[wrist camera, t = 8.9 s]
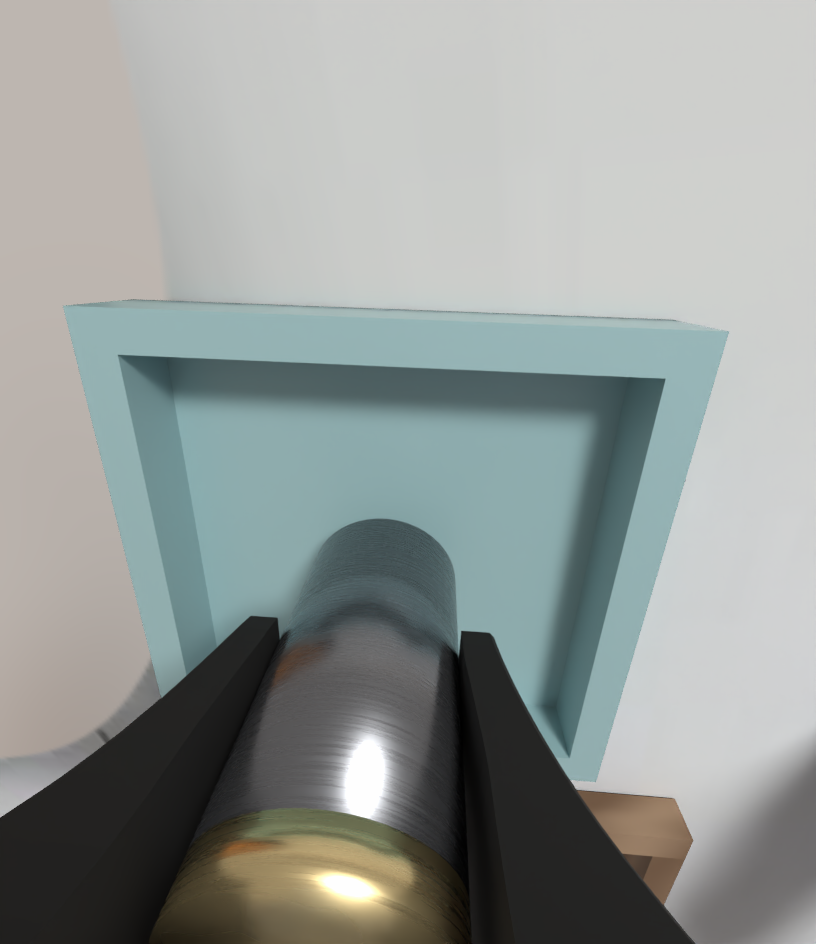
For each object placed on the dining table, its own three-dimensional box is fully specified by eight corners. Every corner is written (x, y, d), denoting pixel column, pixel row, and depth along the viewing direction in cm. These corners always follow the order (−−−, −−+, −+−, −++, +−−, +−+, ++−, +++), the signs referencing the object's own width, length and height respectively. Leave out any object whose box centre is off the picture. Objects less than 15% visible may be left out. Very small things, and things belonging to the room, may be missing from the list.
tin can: (471, 535, 12) (515, 928, 5) (437, 647, 14) (434, 1071, 7) (322, 504, 12) (141, 858, 5) (306, 621, 14) (152, 1019, 6)
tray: (672, 319, 12) (729, 331, 9) (575, 714, 17) (596, 781, 15) (133, 299, 12) (62, 305, 10) (207, 685, 18) (173, 745, 16)
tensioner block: (674, 798, 19) (740, 947, 15) (624, 922, 22) (665, 1068, 18) (210, 758, 20) (149, 888, 16) (236, 883, 23) (192, 1014, 19)
